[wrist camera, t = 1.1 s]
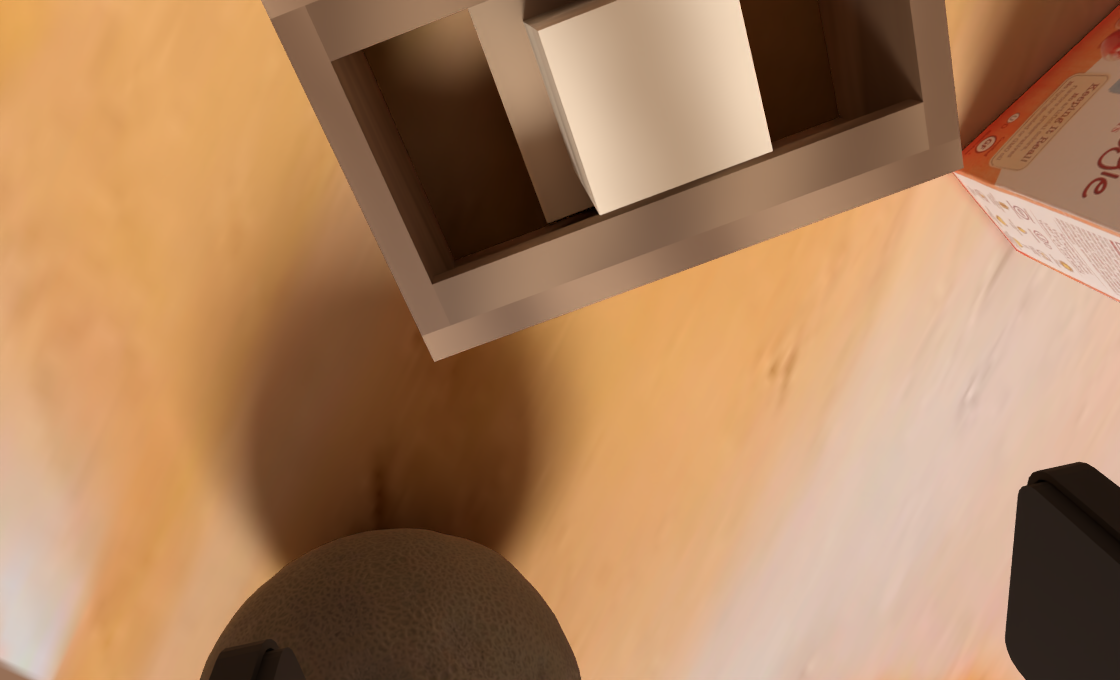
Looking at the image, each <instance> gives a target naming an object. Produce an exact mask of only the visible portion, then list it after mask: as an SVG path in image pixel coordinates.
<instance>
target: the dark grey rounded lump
mask: <svg viewBox="0 0 1120 680" xmlns="http://www.w3.org/2000/svg"><path fill="white" fill-rule="evenodd" d="M266 639H272V640H274V641H275V642H276V643H277V645H278V646H279V648H280V649H282V648H287V647H289V648H290V649H292V651H293V653H294V654H295V656H296V659H297V661H298V663H299V665H300V667H301V669H302V672H303V674H304V676H305V678H306V680H581V677H580V672H579V668H578V665H577V662H576V658H575V656H574V654H573V651H572V649H571V647H570V645H569V643H568V641H567V639H566V637H565V635H564V633H563V631H562V629H561V626H560V624H559V622H558V620H557V618H556V617H555V615H554V613H553V612H552V611H551V609H550V608H549V606H548V605H547V603H546V602H545V601H544V599H543V598H542V597H541V595H540V594H539V593H538V592H537V590H536V589H535V588H534V587H533V586H532V585H531V584H530V583H529V582H528V581H527V580H526V579H525V578H524V577H523V576H522V574H521V573H520V572H519V571H518V570H517V569H516V568H515V567H514V566H513V565H512V564H511V563H510V562H509V561H507V560H506V559H505V558H504V557H503V556H501V555H500V554H499V553H497V552H495V551H493V550H491V549H490V548H488V547H486V546H484V545H481V544H479V543H477V542H474V541H471V540H468V539H465V538H461V537H457V536H452V535H447V534H442V533H439V532H435V531H432V530H426V529H413V528H397V529H383V530H373V531H367V532H361V533H357V534H353V535H350V536H346V537H342V538H339V539H337V540H334V541H332V542H329V543H326V544H324V545H322V546H319V547H317V548H315V549H313V550H311V551H309V552H307V553H305V554H304V555H302V556H301V557H299V558H297V559H296V560H294V561H292V562H291V563H289V564H287V565H286V566H285V567H284V568H283V569H282V570H280V571H279V572H278V573H277V574H276V575H275V576H273V577H272V578H271V579H270V580H268V581H267V582H266V583H265V584H263V585H262V586H261V587H260V588H259V589H258V590H257V591H256V592H255V593H254V594H253V595H252V596H250V597H249V598H248V599H247V600H246V601H245V603H244V604H243V605H242V606H241V607H240V608H239V610H238V611H237V612H236V613H235V615H234V616H233V618H232V619H231V621H230V622H229V624H228V625H227V626H226V628H225V629H224V631H223V632H222V634H221V635H220V637H219V639H218V641H217V642H216V644H215V646H214V648H213V650H212V652H211V653H210V655H209V657H208V659H207V661H206V664H205V667H204V669H203V672H202V675H201V678H200V680H209V678H210V675H211V673H212V670H213V667H214V665H215V662H216V659H217V658H218V656H219V654H220V652H221V651H222V650H224V649H225V648H229V647H234V646H238V645H243V644H248V643H252V642H257V641H261V640H266Z"/></svg>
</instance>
